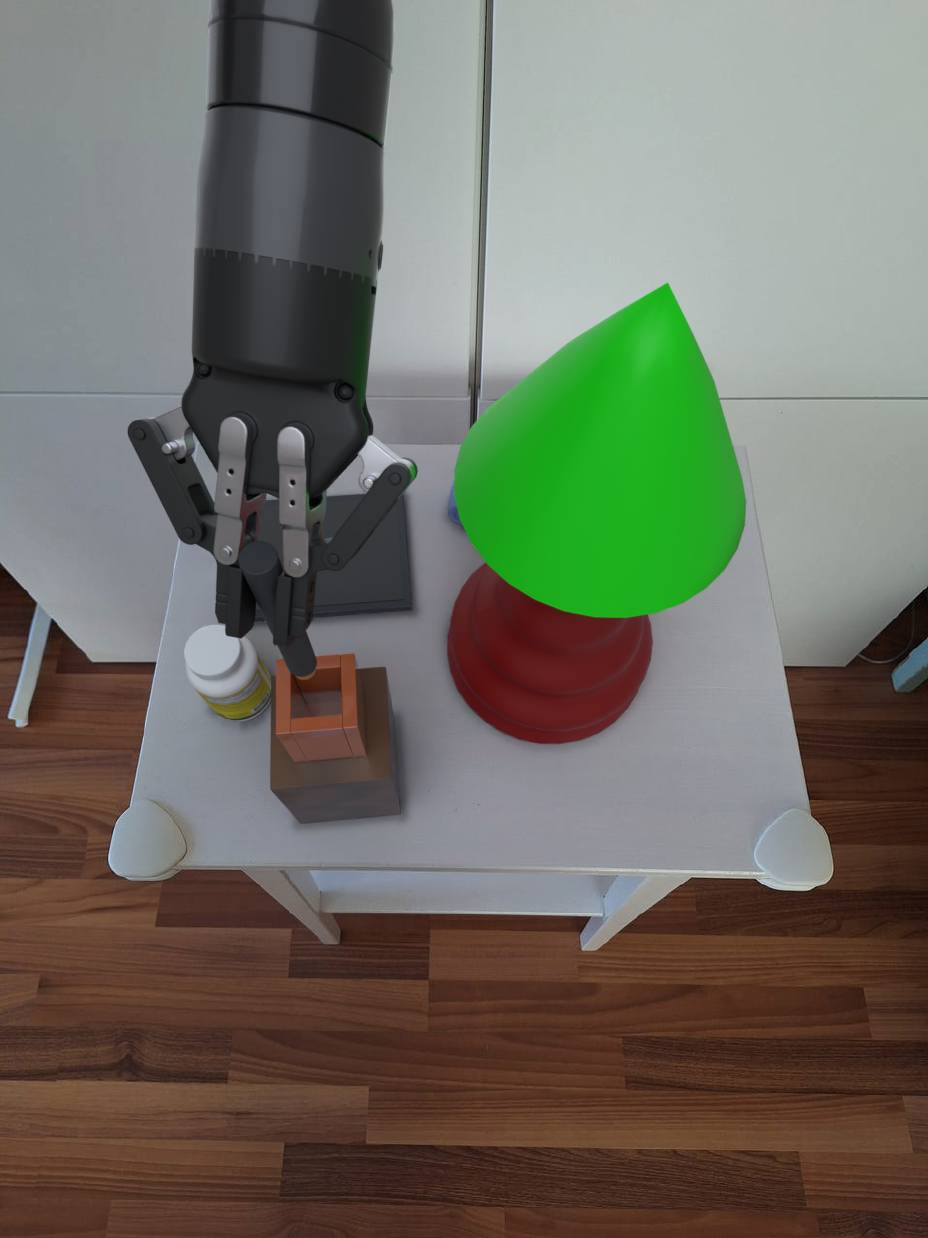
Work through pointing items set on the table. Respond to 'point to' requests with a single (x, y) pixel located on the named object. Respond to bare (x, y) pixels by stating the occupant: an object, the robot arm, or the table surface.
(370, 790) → the stand
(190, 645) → the pill bottle
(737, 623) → the table surface
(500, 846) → the table surface
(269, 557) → the stylus
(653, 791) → the table surface
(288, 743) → the pen cup
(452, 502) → the decorative dice
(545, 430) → the table lamp
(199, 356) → the robot arm
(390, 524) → the tablet
